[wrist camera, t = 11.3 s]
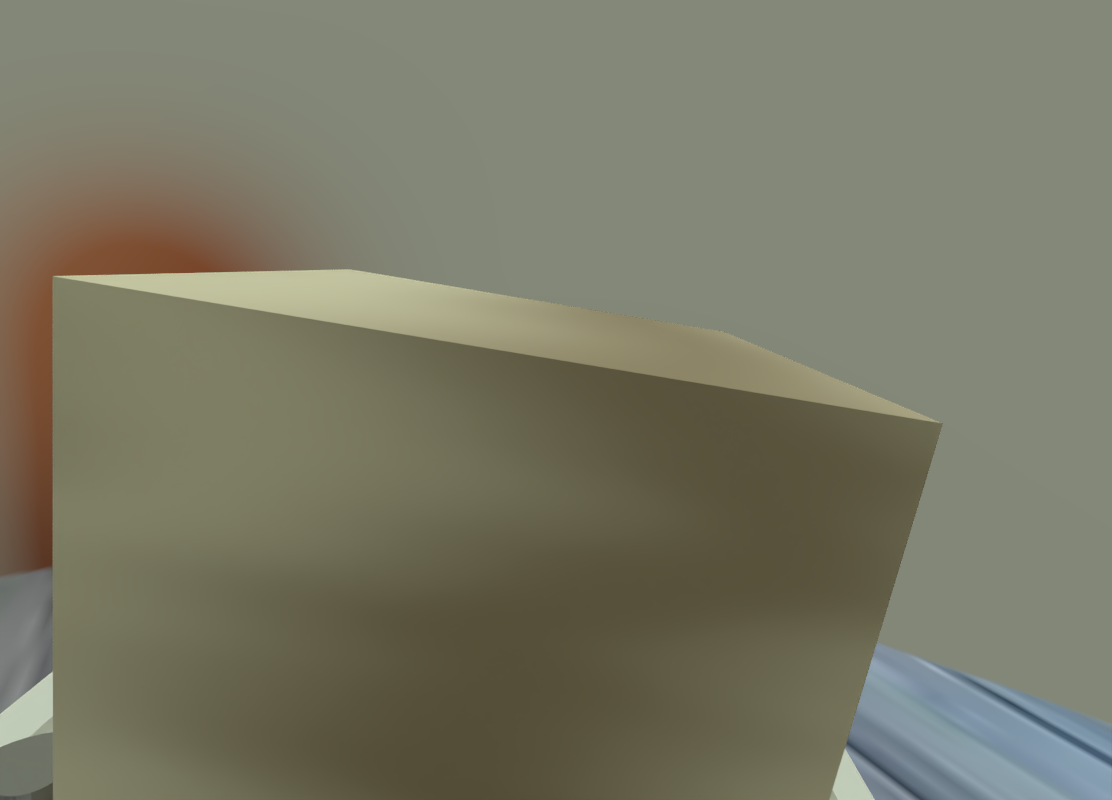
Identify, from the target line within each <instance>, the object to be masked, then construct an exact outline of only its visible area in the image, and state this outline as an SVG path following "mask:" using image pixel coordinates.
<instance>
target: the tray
mask: <svg viewBox="0 0 1112 800" xmlns="http://www.w3.org/2000/svg"><path fill="white" fill-rule="evenodd" d="M51 732H53V672H52V673H50V674H49V675H48V676H47V677H45V678H44V679H43V680H42V681H40V682H39V683H38V684H37V685H36V686H34V687H33V688H32V689H31V690H29V691H28V692H27V693H26V694H24V695H23V696H22V697H21V698H19V699H18V700H17V701H16V702H14V703H13V704H12V705H11V706H10V707H8V708H7V709H6V710H5V711H3V712H2V713H1V714H0V747H2V746H4V745H7V744H9V743H12V742H14V741H18V740H21V739H24V738H27V737H31V736H35V735H40V734H44V733H51ZM829 800H874V798H873V796H872V795H871V793H870V791H869V789H868V788H867V786H866V784H865V782H864V781H863V779H862V777H861V775H860V774H859V772H858V770H857V769H856V767H855V765H854V763H853V762H852V760H851V758H850V756H849V755H848V753H847V751H846V750H845V749H844V753H843V756H842V759H841V763H840V766H839V769H838V773H837V776H836V779H835V783H834V786H833V789H832V792H831V796H830V799H829Z"/></svg>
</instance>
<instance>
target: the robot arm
mask: <svg viewBox="0 0 1112 800" xmlns="http://www.w3.org/2000/svg"><path fill="white" fill-rule="evenodd" d="M0 800H53V732H51V733H44V734H40V735H35V736H31V737H27V738H24V739H21V740H18V741H14V742H12V743H9V744H7V745H4V746H2V747H0Z"/></svg>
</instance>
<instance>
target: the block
mask: <svg viewBox="0 0 1112 800" xmlns="http://www.w3.org/2000/svg"><path fill="white" fill-rule="evenodd" d="M941 427H942V423H940V422H938V421H936V420H933V419H931V418H928V417H926V416H924V415H921V414H919V413H916V412H914V411H912V410H909V409H907V408H905V407H902V406H900V405H897V404H895V403H893V402H890V401H887V400H885V399H883V398H881V397H878V396H876V395H873V394H871V393H869V392H866V391H864V390H861V389H859V388H857V387H854V386H852V385H850V384H847V383H845V382H842V381H840V380H837V379H835V378H833V377H830V376H828V375H826V374H823V373H821V372H818V371H816V370H813V369H811V368H809V367H806V366H804V365H802V364H799V363H797V362H795V361H792V360H790V359H787V358H785V357H783V356H780V355H778V354H775V353H773V352H771V351H768V350H766V349H763V348H761V347H759V346H756V345H754V344H752V343H749V342H747V341H744V340H742V339H739V338H737V337H735V336H732V335H730V334H727V333H725V332H721V331H715V330H709V329H703V328H697V327H691V326H685V325H679V324H673V323H667V322H662V321H656V320H649V319H644V318H637V317H631V316H626V315H620V314H614V313H608V312H602V311H596V310H590V309H584V308H577V307H572V306H566V305H560V304H553V303H548V302H542V301H536V300H530V299H524V298H518V297H512V296H506V295H500V294H494V293H488V292H482V291H476V290H471V289H465V288H458V287H452V286H446V285H440V284H435V283H428V282H423V281H417V280H411V279H404V278H399V277H393V276H387V275H380V274H374V273H369V272H363V271H357V270H351V269H348V270H305V271H260V272H217V273H173V274H129V275H89V276H88V275H85V276H53V800H829V799H830V796H831V792H832V789H833V786H834V783H835V779H836V776H837V773H838V769H839V766H840V763H841V759H842V756H843V753H844V749H845V746H846V743H847V739H848V736H849V733H850V729H851V726H852V723H853V720H854V716H855V713H856V710H857V706H858V703H859V700H860V696H861V693H862V690H863V686H864V683H865V680H866V676H867V673H868V670H869V666H870V663H871V660H872V657H873V653H874V650H875V647H876V643H877V640H878V636H879V633H880V630H881V627H882V623H883V620H884V617H885V613H886V609H887V607H888V604H889V600H890V596H891V593H892V590H893V587H894V584H895V580H896V577H897V573H898V570H899V567H900V564H901V560H902V557H903V554H904V550H905V547H906V544H907V540H908V537H909V534H910V531H911V527H912V524H913V521H914V517H915V514H916V511H917V507H918V504H919V501H920V497H921V494H922V491H923V487H924V484H925V480H926V477H927V474H928V471H929V468H930V464H931V461H932V458H933V454H934V451H935V448H936V444H937V441H938V437H939V434H940V431H941Z"/></svg>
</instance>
